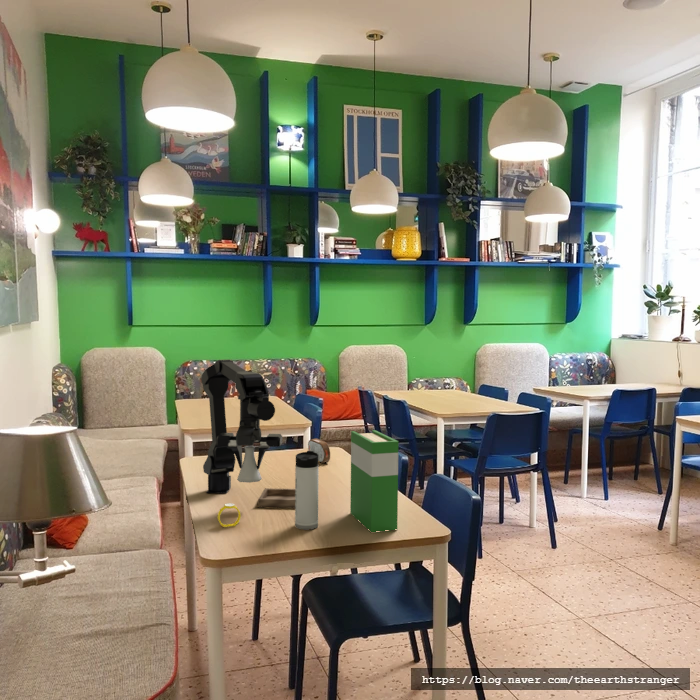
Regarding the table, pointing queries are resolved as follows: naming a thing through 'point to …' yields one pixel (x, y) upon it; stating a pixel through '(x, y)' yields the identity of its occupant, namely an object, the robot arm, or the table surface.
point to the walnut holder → (277, 498)
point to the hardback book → (374, 480)
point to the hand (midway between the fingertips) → (249, 468)
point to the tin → (320, 449)
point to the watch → (229, 508)
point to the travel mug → (306, 490)
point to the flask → (249, 467)
